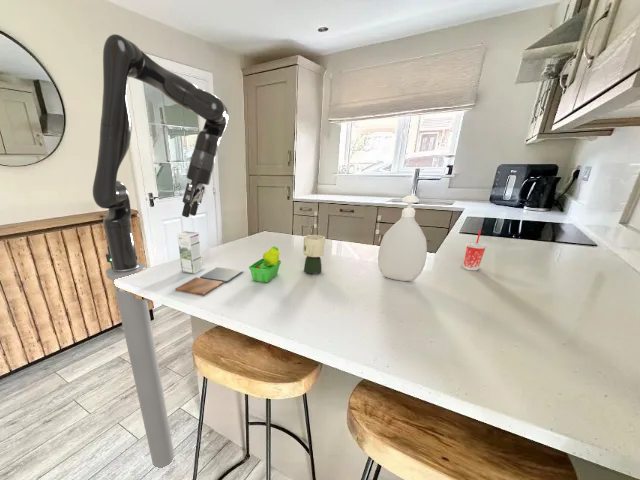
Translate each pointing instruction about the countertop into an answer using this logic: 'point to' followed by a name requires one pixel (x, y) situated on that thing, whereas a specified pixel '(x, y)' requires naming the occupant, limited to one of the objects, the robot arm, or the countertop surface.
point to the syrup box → (190, 251)
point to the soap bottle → (403, 247)
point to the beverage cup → (474, 254)
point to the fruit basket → (266, 266)
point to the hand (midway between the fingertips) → (188, 215)
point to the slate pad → (221, 274)
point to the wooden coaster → (199, 286)
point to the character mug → (313, 253)
